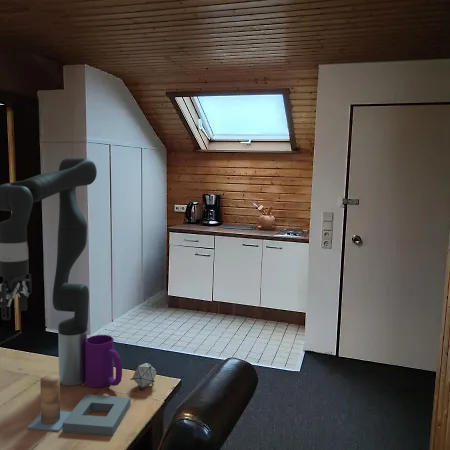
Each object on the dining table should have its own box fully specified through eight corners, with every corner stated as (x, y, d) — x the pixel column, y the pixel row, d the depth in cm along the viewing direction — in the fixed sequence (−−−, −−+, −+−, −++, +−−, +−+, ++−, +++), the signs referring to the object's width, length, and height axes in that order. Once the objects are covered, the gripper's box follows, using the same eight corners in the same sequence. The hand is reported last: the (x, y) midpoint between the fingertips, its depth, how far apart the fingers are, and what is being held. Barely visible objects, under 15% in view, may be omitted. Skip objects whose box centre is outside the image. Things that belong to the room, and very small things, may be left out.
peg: (46, 414, 128) (45, 374, 126) (63, 415, 127) (62, 375, 126) (37, 423, 123) (36, 382, 121) (55, 425, 122) (54, 383, 121)
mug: (102, 373, 155) (102, 332, 154) (131, 387, 146) (132, 343, 144) (79, 382, 148) (79, 339, 146) (109, 397, 139) (109, 352, 137)
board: (86, 401, 136) (86, 394, 136) (130, 405, 135) (130, 397, 134) (62, 431, 120) (62, 423, 120) (112, 435, 119) (112, 426, 119)
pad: (43, 411, 130) (43, 409, 130) (73, 413, 129) (73, 412, 129) (27, 428, 121) (27, 427, 121) (59, 431, 120) (59, 429, 120)
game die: (144, 394, 149) (150, 364, 154) (160, 393, 144) (166, 362, 149) (122, 388, 144) (129, 357, 149) (138, 387, 139) (145, 355, 144)
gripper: (12, 263, 114) (13, 324, 116) (39, 254, 128) (40, 308, 130) (-16, 262, 115) (-14, 322, 117) (15, 252, 129) (16, 306, 131)
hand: (15, 314), depth 123 cm, fingers open, 8 cm apart
